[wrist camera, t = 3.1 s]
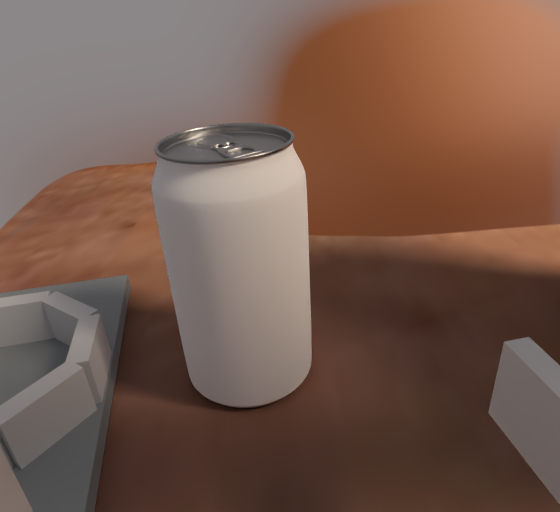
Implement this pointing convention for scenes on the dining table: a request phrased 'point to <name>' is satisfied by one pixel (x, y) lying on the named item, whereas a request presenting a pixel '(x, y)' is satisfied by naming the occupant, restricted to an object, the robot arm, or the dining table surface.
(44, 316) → the socket plate
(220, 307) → the can
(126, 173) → the dining table surface
